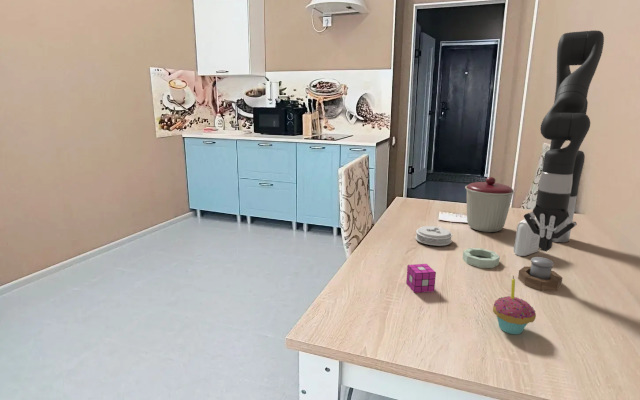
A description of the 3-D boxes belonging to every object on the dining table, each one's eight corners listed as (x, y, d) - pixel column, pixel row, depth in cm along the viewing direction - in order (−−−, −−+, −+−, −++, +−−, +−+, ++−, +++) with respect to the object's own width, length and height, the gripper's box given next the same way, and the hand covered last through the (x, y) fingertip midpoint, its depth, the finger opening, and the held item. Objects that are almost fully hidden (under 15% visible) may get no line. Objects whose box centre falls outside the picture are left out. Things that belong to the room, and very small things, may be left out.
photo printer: (527, 247, 136) (533, 213, 133) (540, 251, 133) (545, 217, 130) (511, 253, 131) (516, 218, 128) (523, 257, 127) (529, 221, 124)
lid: (447, 236, 147) (448, 224, 146) (454, 249, 135) (456, 235, 133) (413, 235, 148) (414, 222, 147) (417, 247, 136) (418, 233, 135)
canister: (512, 226, 159) (519, 176, 154) (505, 239, 144) (513, 183, 139) (466, 219, 168) (471, 171, 163) (456, 230, 154) (461, 178, 148)
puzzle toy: (425, 282, 109) (426, 263, 108) (434, 291, 104) (436, 272, 102) (406, 283, 108) (407, 264, 107) (414, 293, 103) (415, 273, 102)
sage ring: (472, 252, 131) (473, 245, 130) (502, 261, 124) (503, 254, 123) (458, 260, 124) (458, 253, 124) (489, 270, 117) (489, 262, 116)
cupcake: (483, 318, 91) (489, 271, 88) (518, 317, 92) (525, 270, 89) (503, 340, 83) (510, 289, 80) (541, 339, 83) (550, 288, 80)
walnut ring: (526, 271, 117) (528, 263, 116) (564, 282, 110) (565, 274, 109) (513, 281, 110) (515, 273, 109) (552, 294, 103) (554, 285, 102)
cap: (532, 274, 114) (535, 255, 112) (552, 280, 110) (556, 261, 108) (525, 280, 110) (528, 260, 108) (546, 286, 106) (549, 266, 105)
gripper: (587, 191, 101) (575, 253, 105) (532, 183, 110) (524, 241, 115) (579, 195, 96) (567, 261, 100) (522, 187, 105) (514, 247, 110)
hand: (544, 250), depth 107 cm, fingers closed
